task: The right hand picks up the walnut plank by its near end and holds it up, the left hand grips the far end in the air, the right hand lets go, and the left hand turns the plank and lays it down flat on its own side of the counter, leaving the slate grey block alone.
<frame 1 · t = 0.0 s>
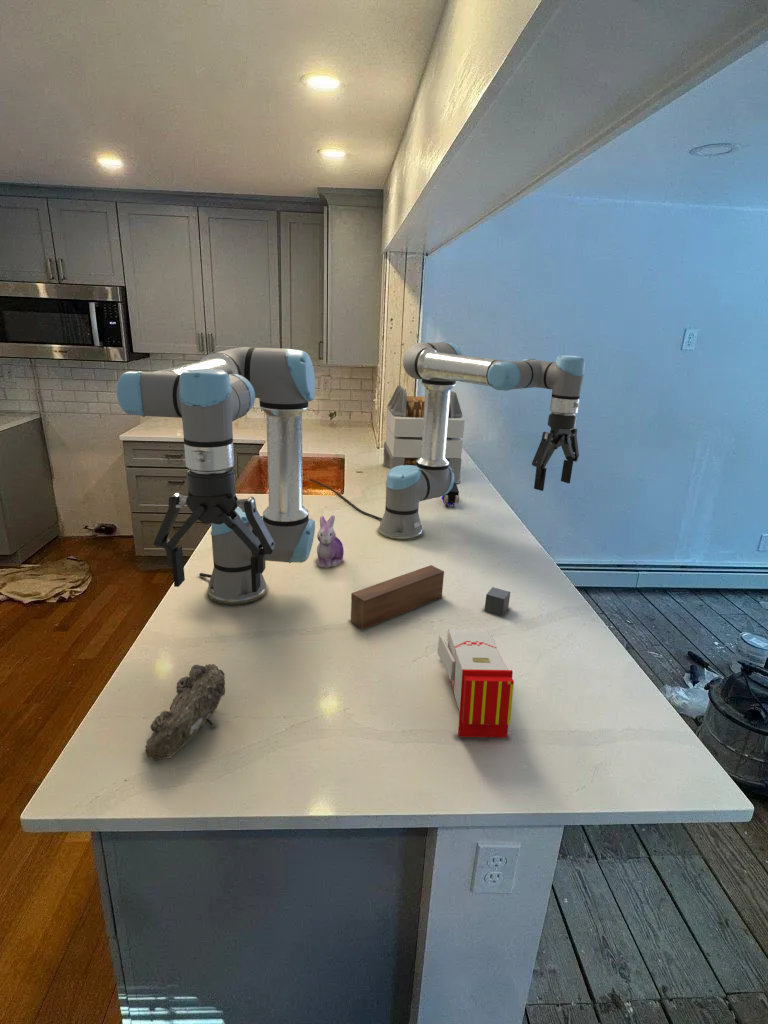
left hand: (217, 586, 99), 28 cm above the counter, fingers open, 13 cm apart
right hand: (552, 485, 166), 28 cm above the counter, fingers open, 13 cm apart
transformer: (419, 473, 275), on the counter
plank: (398, 608, 150), on the counter
grey block: (496, 609, 152), on the counter
fossil: (193, 722, 106), on the counter
toy: (469, 691, 119), on the counter
figurine: (329, 562, 175), on the counter
figurine character: (449, 503, 234), on the counter
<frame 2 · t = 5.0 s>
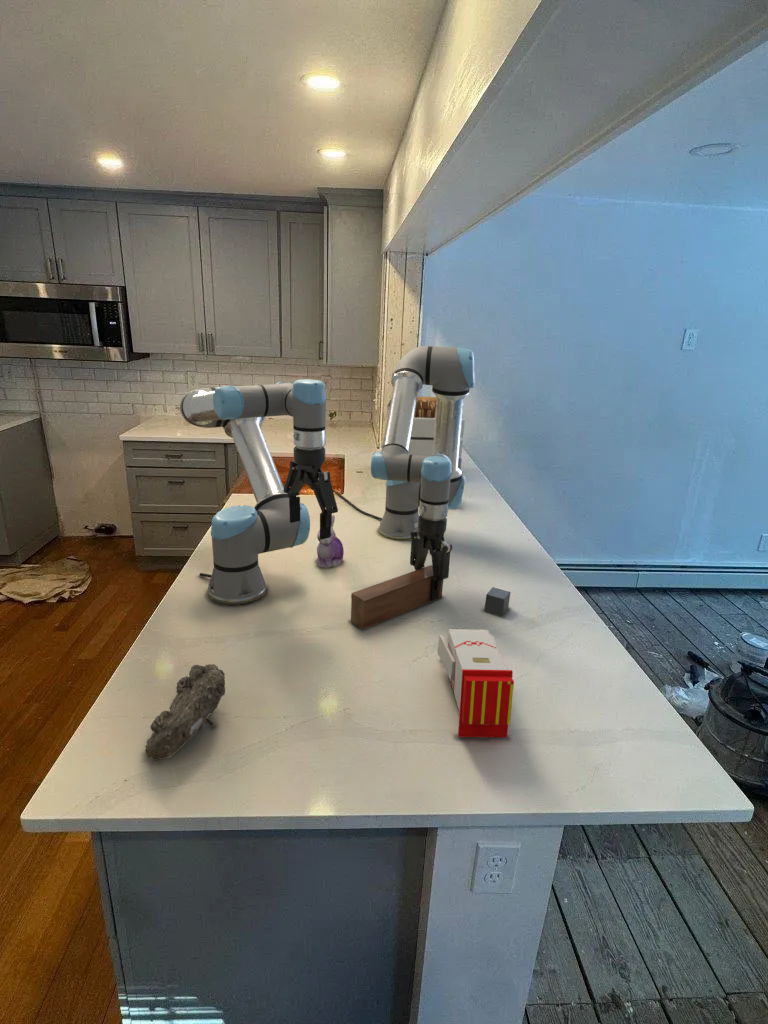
left hand: (309, 529, 142), 22 cm above the counter, fingers open, 13 cm apart
right hand: (426, 595, 156), 1 cm above the counter, fingers closed on plank, 5 cm apart
plank: (398, 608, 150), on the counter, touching right hand
everything else where it was.
when the right hand's fingers open (15 cm above the counter, at t = 10.9 s): plank stays where it is, held by the left hand.
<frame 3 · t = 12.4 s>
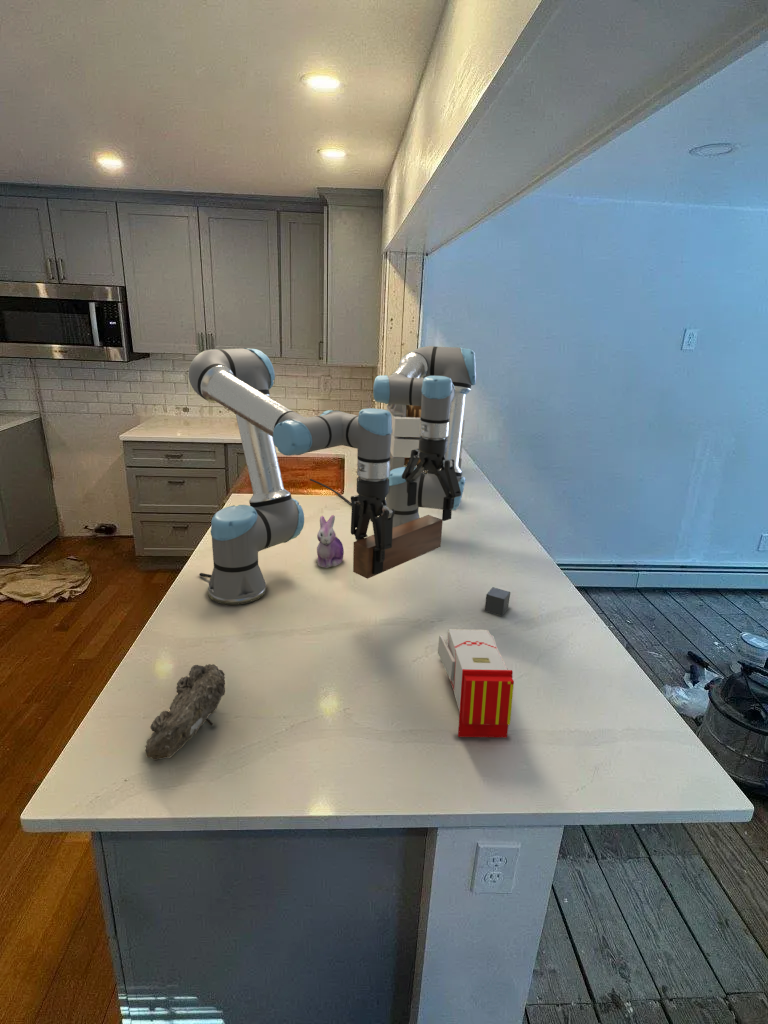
left hand: (369, 568, 139), 15 cm above the counter, fingers closed on plank, 5 cm apart
right hand: (428, 512, 157), 22 cm above the counter, fingers open, 13 cm apart
plank: (399, 558, 146), point 14 cm above the counter, touching right hand, left hand
everything else where it was.
when the left hand's fingers open (2 cm above the counter, at t = 18.8 s): plank stays where it is, on the counter.
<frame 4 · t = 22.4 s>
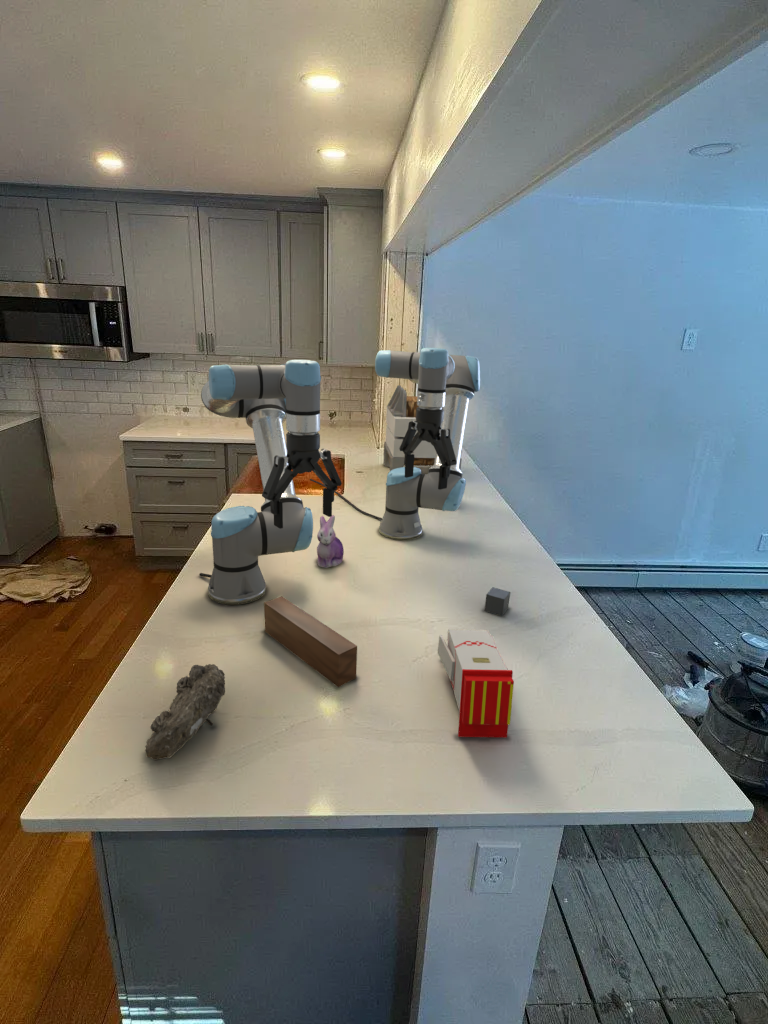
left hand: (303, 520, 134), 27 cm above the counter, fingers open, 13 cm apart
right hand: (425, 482, 161), 29 cm above the counter, fingers open, 13 cm apart
plank: (307, 653, 129), on the counter
everything else where it was.
at the end: plank inside the target area (0.7 cm from its centre), on the counter; both hands held the plank at the same time; the left hand is holding nothing; the right hand is holding nothing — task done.
